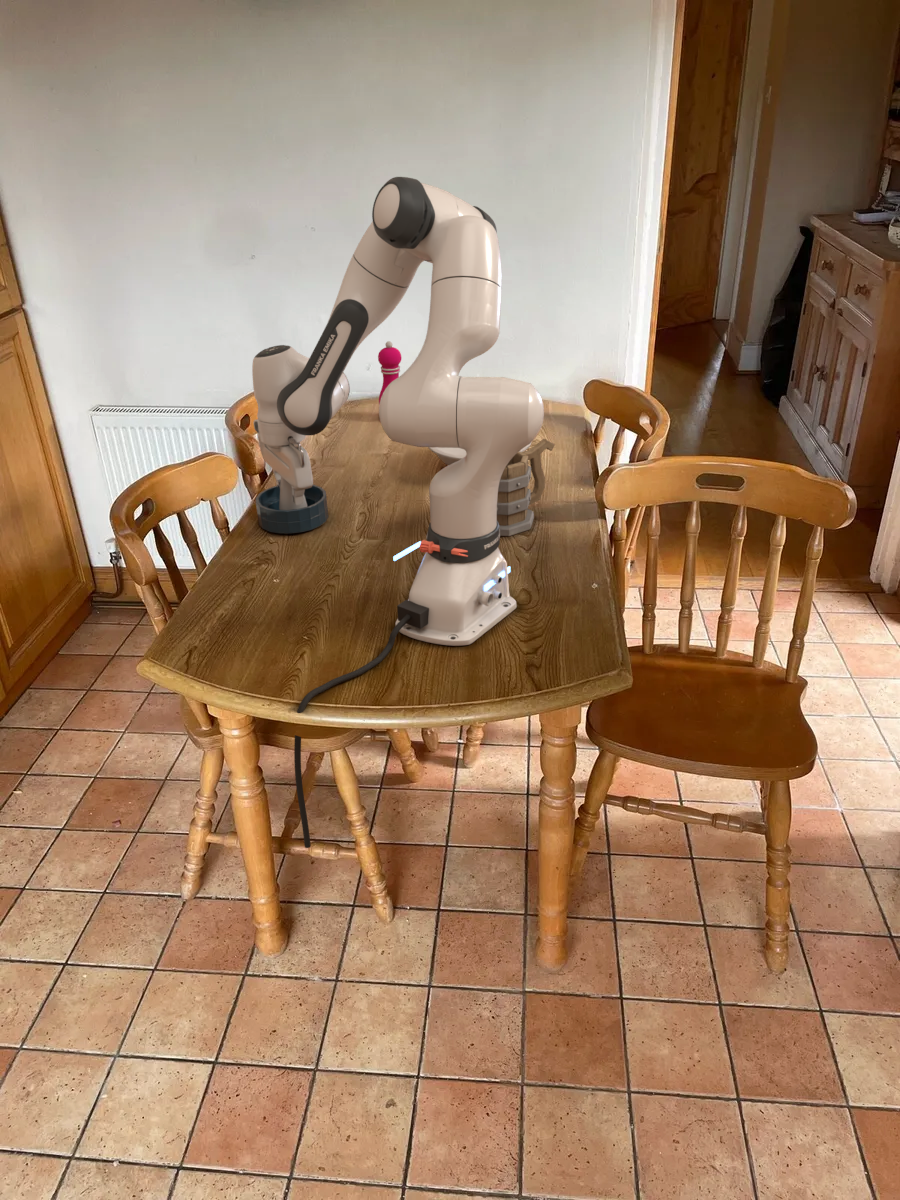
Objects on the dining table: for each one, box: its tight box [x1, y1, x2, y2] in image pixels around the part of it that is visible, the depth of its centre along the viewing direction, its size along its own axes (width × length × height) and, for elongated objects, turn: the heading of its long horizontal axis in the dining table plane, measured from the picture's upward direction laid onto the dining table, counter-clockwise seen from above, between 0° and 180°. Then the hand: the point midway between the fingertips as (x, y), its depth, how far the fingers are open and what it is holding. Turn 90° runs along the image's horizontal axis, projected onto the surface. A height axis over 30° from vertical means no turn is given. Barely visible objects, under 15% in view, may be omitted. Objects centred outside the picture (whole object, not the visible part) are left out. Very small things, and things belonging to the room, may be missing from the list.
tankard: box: [497, 438, 556, 537], centre depth 185 cm, size 20×13×15 cm, turn 123°
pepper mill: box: [377, 340, 402, 405], centre depth 240 cm, size 7×7×20 cm
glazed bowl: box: [255, 484, 330, 534], centre depth 190 cm, size 14×14×6 cm
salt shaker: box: [279, 477, 308, 510], centre depth 187 cm, size 6×6×13 cm
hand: (290, 495), depth 188 cm, fingers open, 8 cm apart
